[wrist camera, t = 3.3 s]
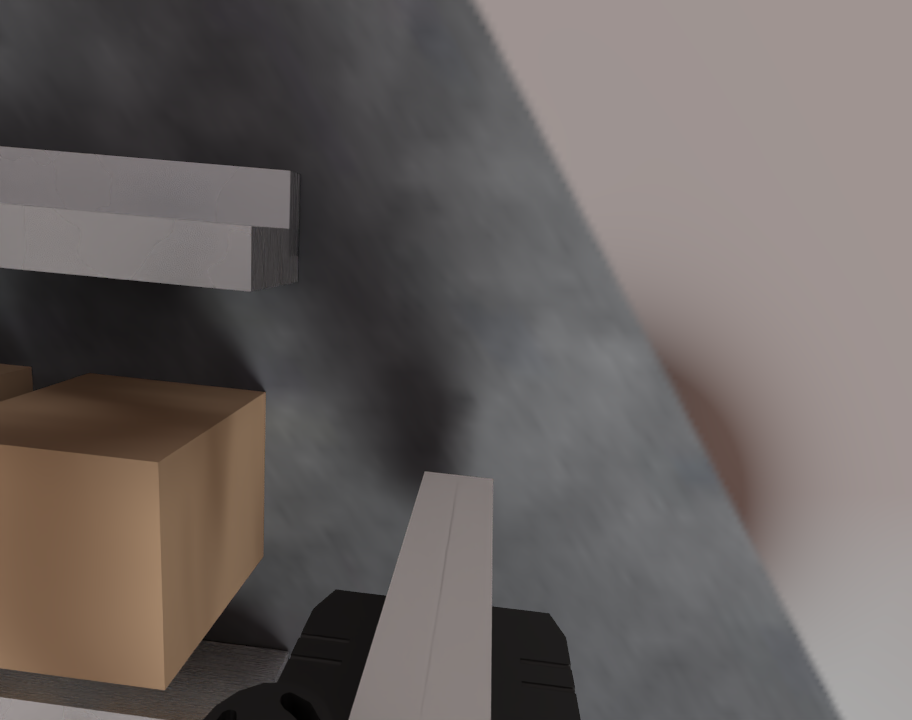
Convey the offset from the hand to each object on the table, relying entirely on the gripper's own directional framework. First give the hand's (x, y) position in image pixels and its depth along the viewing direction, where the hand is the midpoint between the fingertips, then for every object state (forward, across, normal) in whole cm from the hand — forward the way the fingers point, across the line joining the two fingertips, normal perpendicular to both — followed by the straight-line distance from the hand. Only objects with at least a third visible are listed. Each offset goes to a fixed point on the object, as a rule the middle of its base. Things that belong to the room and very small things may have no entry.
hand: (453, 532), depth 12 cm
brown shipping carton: (+2, -7, 0) cm, 7 cm away
